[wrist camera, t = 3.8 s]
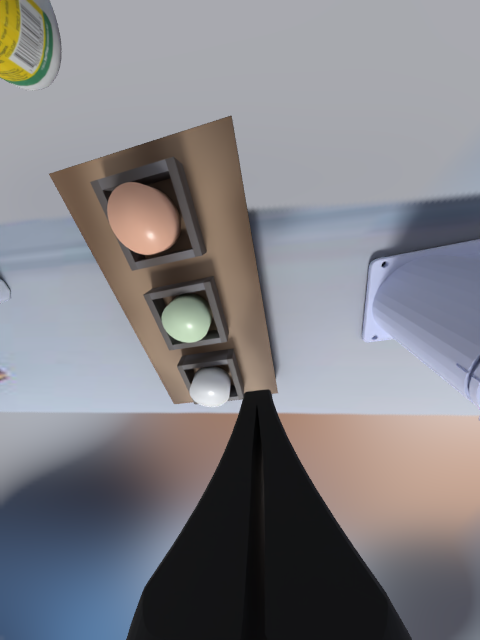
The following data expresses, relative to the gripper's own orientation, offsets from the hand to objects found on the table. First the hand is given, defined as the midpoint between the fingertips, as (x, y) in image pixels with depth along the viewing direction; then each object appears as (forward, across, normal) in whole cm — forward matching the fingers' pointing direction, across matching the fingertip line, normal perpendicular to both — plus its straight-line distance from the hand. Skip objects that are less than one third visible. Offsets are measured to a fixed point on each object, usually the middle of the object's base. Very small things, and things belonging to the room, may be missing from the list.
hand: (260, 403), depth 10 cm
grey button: (+6, +5, +4) cm, 9 cm away
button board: (+9, +5, -3) cm, 11 cm away
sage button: (+7, +5, -3) cm, 9 cm away
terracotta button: (+6, +5, -10) cm, 13 cm away
